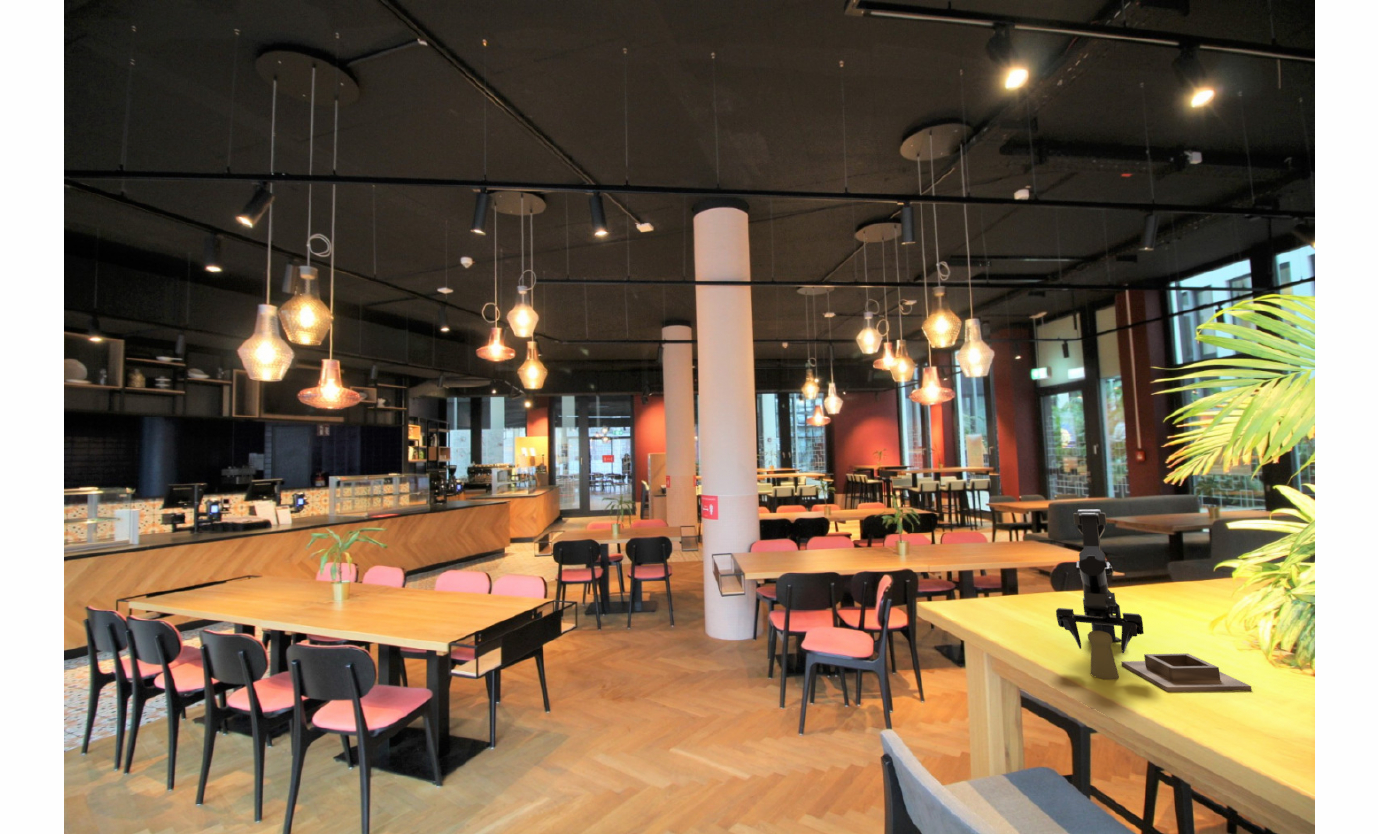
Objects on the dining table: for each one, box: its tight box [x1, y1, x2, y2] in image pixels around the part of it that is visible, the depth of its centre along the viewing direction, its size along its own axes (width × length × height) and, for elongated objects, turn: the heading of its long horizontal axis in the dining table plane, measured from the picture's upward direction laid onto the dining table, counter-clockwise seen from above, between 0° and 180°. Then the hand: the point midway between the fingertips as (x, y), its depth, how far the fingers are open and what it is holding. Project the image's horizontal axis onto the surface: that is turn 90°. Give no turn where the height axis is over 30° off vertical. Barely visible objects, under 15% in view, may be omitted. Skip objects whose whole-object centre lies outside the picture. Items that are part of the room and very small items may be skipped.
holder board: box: [1120, 653, 1253, 692], centre depth 145 cm, size 18×18×4 cm
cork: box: [1087, 631, 1120, 681], centre depth 150 cm, size 6×6×11 cm
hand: (1101, 650), depth 149 cm, fingers open, 9 cm apart
